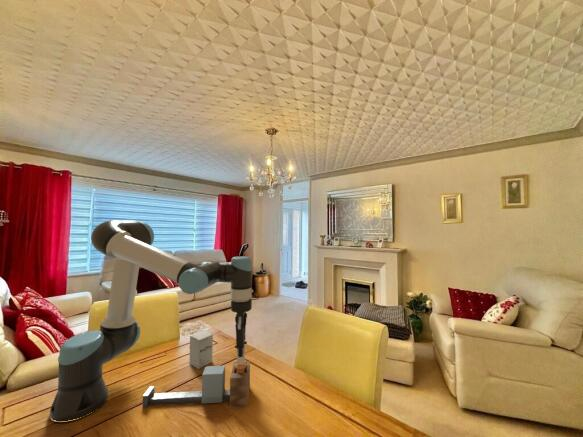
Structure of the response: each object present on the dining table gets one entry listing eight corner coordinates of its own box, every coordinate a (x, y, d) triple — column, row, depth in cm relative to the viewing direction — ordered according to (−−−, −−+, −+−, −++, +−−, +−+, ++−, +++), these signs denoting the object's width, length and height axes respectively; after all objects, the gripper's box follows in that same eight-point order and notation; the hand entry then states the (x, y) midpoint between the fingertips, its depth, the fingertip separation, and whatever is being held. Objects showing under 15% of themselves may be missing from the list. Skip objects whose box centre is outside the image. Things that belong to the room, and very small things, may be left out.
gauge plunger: (234, 385, 87) (234, 367, 88) (235, 379, 91) (236, 361, 91) (245, 385, 88) (245, 367, 88) (246, 378, 92) (246, 361, 92)
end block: (229, 407, 84) (230, 378, 84) (234, 388, 94) (234, 362, 94) (247, 406, 85) (247, 377, 85) (249, 387, 95) (250, 361, 95)
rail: (142, 407, 84) (142, 395, 84) (149, 397, 89) (149, 386, 89) (230, 402, 87) (231, 391, 87) (233, 392, 92) (233, 382, 92)
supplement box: (198, 369, 106) (198, 340, 107) (189, 363, 111) (189, 335, 111) (212, 362, 112) (213, 334, 112) (203, 356, 117) (203, 329, 117)
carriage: (201, 403, 86) (202, 374, 86) (205, 392, 91) (206, 366, 91) (222, 402, 86) (222, 374, 86) (224, 391, 92) (225, 365, 92)
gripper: (250, 304, 84) (249, 374, 84) (252, 293, 97) (252, 354, 96) (228, 305, 84) (227, 375, 83) (233, 294, 96) (233, 355, 96)
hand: (240, 363), depth 90 cm, fingers closed
